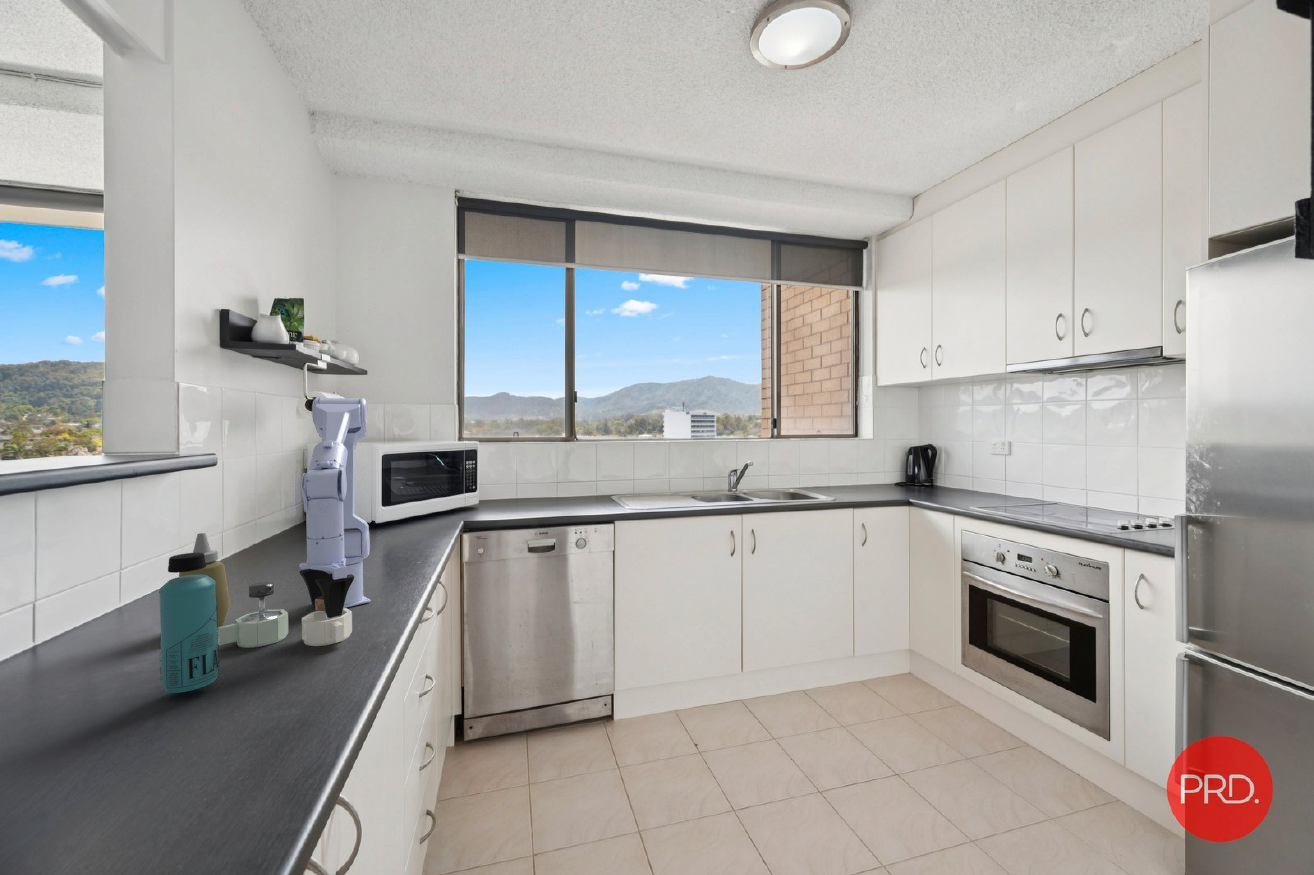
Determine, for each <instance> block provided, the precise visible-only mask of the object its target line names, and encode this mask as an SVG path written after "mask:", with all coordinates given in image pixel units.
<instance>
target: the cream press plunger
mask: <svg viewBox="0 0 1314 875" xmlns="http://www.w3.org/2000/svg"><path fill="white" fill-rule="evenodd" d="M314 610H315V612H316V611H324V620H329V619H330V618H328V617H327V615H326V611H325V605H324V600H323V596H320V597H317V598H316V599H315V608H314Z"/></svg>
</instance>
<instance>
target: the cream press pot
mask: <svg viewBox="0 0 1314 875" xmlns="http://www.w3.org/2000/svg"><path fill="white" fill-rule="evenodd" d="M352 632H353V611H352V610H351V609H348V607H346V608H343V611H342V615H341V616H336V617H332V618H330V619H329V620H324V611H316V610H315V611H312V612H310V613H308V614H306V615H304V616H303V617H301V640H302V641H303V644H304V645H306V646H309V647H310V646H311V647H320V646H321V647H322V646H323V647H324V646H329V645H333V644H337V643H340V642H344V640H347V639H349V637H350V636H351V633H352Z"/></svg>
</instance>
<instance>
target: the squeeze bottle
mask: <svg viewBox="0 0 1314 875" xmlns="http://www.w3.org/2000/svg"><path fill="white" fill-rule="evenodd" d="M196 535H197V536H196V538H195V542H194V547H193V551H192V553H204V555H205V562H206V567H205V568H202V569H199V570H194V571H188V572H178V573H179V574H178V577H181V576H188V575H207V576H209V577H210V578H212V579H213V580H215V582H216V585H215V592H216V597H217V598H216V609H217V608H218V612H217V610H216V615H217V622H218V623H217V625H218V626H217V629H218V627H221V626H224V624H225V621H226V618H227V615H228V614H229V610H230V609H231V608H230V606H231V599H230V594H229V593H230V592H229V586H228V580H227V573H226V566H225V563H223V562H221V561H219V560H218V559H219V552H218V550H213V549H211V546H210V543H209V540H208V538H207V534H206V533H205V532H199V533H197V534H196ZM217 601H218V602H217Z"/></svg>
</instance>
